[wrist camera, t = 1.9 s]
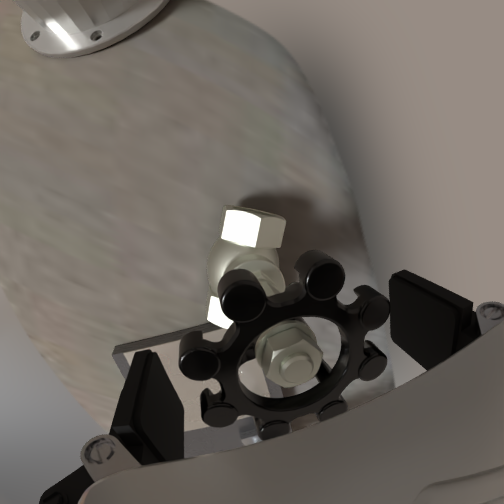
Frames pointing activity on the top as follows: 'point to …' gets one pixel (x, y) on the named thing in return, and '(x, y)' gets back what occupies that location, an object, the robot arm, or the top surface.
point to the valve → (277, 328)
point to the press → (195, 430)
